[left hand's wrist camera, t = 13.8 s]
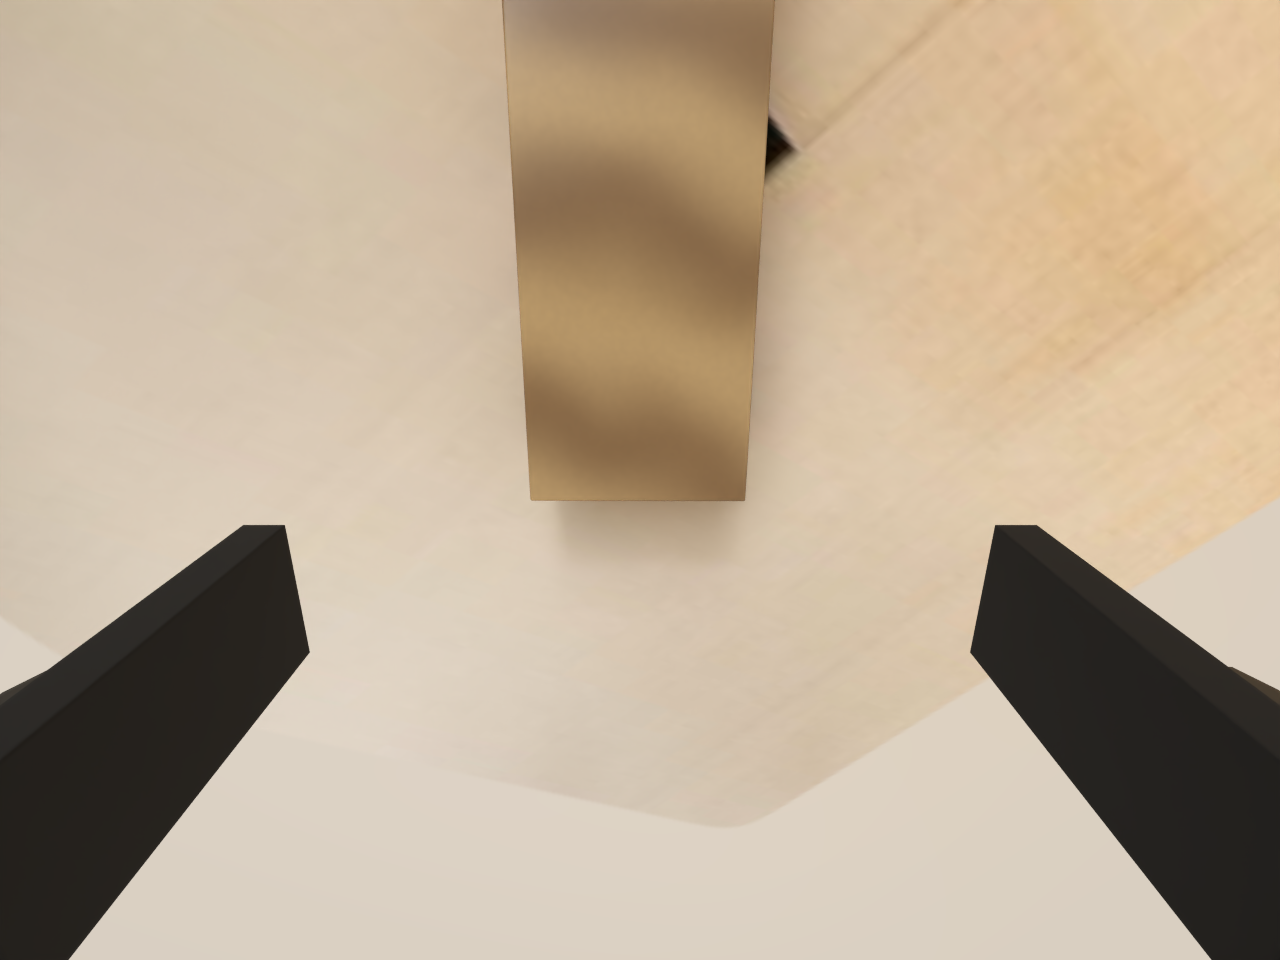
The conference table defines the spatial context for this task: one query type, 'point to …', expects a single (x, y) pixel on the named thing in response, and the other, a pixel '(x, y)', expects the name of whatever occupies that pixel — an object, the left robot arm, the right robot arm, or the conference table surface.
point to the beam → (638, 240)
